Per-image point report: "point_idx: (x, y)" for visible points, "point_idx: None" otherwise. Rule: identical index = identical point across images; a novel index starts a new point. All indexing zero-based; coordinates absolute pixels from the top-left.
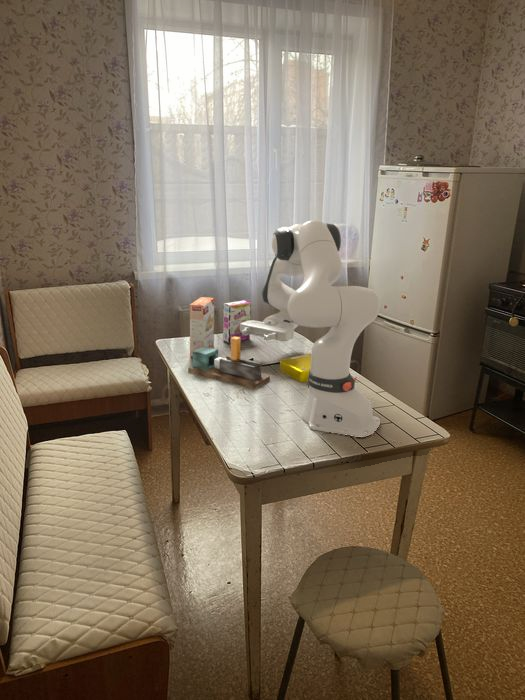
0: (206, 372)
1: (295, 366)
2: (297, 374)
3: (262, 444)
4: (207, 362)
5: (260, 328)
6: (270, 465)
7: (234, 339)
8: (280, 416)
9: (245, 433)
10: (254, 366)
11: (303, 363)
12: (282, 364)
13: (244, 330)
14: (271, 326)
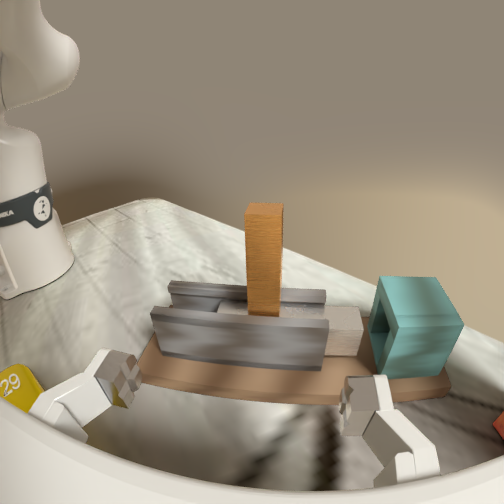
0: None
1: (32, 397)
2: (39, 384)
3: (133, 217)
4: (374, 308)
5: (212, 483)
6: (124, 206)
7: (262, 205)
8: (108, 255)
9: (155, 222)
10: (170, 285)
11: None
12: None
13: (371, 384)
14: None
